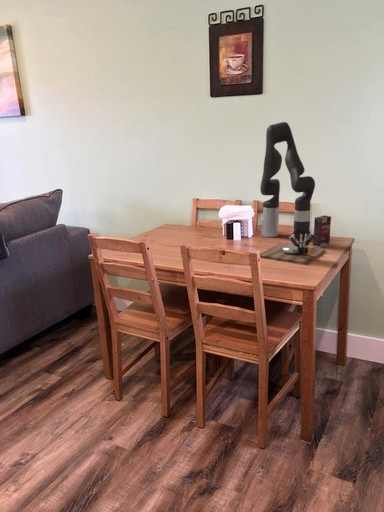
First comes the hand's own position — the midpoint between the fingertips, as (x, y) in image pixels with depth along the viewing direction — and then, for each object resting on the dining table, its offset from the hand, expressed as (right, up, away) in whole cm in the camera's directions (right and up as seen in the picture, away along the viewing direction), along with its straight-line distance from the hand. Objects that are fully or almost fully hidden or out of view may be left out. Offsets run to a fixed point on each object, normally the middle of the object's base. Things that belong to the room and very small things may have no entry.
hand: (300, 254), depth 206 cm
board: (-2, 0, +9) cm, 9 cm away
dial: (0, +1, +7) cm, 7 cm away
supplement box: (+17, +4, +22) cm, 28 cm away
